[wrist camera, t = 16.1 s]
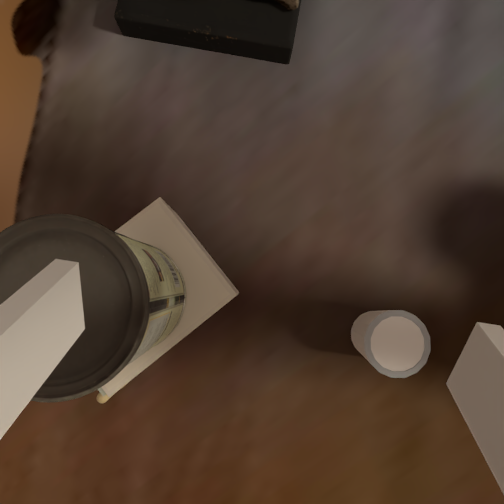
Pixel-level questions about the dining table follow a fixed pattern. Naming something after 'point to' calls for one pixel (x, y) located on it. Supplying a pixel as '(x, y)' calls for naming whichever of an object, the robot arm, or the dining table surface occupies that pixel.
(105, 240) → the coffee can
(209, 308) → the cabinet
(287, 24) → the coral
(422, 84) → the dining table surface
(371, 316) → the shot glass
